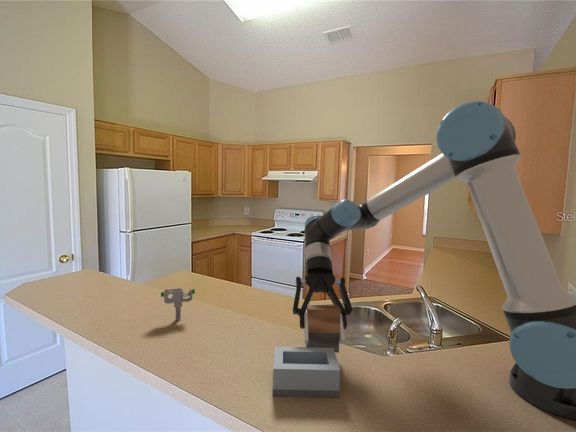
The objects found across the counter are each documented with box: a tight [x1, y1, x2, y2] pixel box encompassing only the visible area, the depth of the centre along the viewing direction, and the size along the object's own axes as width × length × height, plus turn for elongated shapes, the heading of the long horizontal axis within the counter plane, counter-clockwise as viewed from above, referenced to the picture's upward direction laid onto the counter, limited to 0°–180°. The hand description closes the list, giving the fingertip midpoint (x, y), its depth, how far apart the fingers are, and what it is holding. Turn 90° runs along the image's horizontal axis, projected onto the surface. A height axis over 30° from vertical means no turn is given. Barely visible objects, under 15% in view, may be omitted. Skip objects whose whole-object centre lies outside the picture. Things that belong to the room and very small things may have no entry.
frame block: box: [272, 346, 341, 398], centre depth 68 cm, size 9×14×6 cm, turn 91°
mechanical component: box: [160, 287, 196, 322], centre depth 98 cm, size 3×10×10 cm, turn 112°
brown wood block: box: [305, 304, 341, 354], centre depth 77 cm, size 3×8×11 cm, turn 91°
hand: (324, 341), depth 73 cm, fingers closed on brown wood block, 8 cm apart
